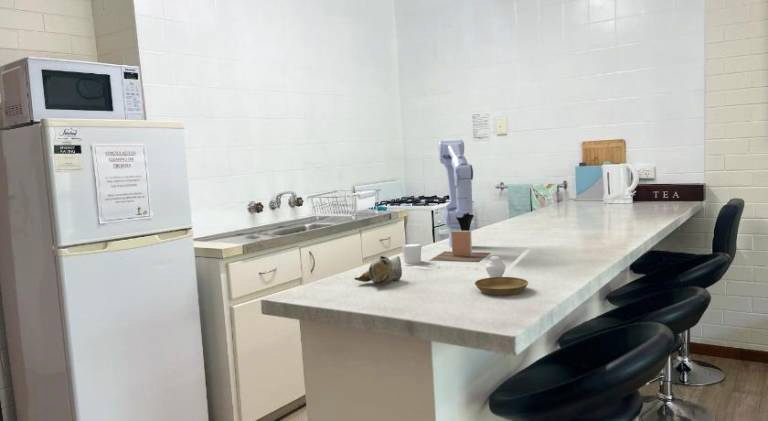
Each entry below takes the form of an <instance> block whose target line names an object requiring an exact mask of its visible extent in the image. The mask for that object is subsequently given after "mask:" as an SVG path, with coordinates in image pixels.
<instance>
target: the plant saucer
mask: <svg viewBox="0 0 768 421" xmlns="http://www.w3.org/2000/svg"><path fill="white" fill-rule="evenodd" d="M528 284H529V281H528V280H526V279H523V278H519V277H515V276H514V277H513V276H502V277H491V278H490V277H483V278H480V279H477V280H476V281H474V285H475V286H476V287H477V289H478V290H480V292H482V293H484V294H486V295H489V296H490V295H491V296H500V297H501V296H512V295H513V294H514V295H518V294H521V292H523V291H524V290H525V288H526V287H527V286H528Z"/></svg>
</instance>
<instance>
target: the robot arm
mask: <svg viewBox="0 0 768 421" xmlns="http://www.w3.org/2000/svg"><path fill="white" fill-rule="evenodd" d="M464 154H465V142H464V140H462V139H458V140H457V139H456V140H439V142H438V159H439V161H440V162H439V163H440V164H442V165H443V166H444V167H445V171H446V172H445V173H446V179H447V180H446V182H447V189H448V196H449V203H447V204H445V206H444V209H443V212H444V214H443V219H444V221H443V222H444V224H445V226H446V227H448V244H449V245H448V246H449V248H452V231H471V230H470V229H471V224H472V220H473V218H474V215H475V214H472V213H473V212H474V209H473V187H472V186H473V184H472V183H473V182H472V181H473V179H474V170H473V168H474V167H473V165H472V164H469V163H468V160H467V158H466V157H465V155H464Z"/></svg>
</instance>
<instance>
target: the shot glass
mask: <svg viewBox="0 0 768 421" xmlns="http://www.w3.org/2000/svg"><path fill="white" fill-rule="evenodd" d="M422 245H423V244H421V243H406V244H402V245H401V249H402V254H403V262H404V264H407V265H405V267H412V265H411V264H420V263H421V262H422ZM409 264H410V265H409Z"/></svg>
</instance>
